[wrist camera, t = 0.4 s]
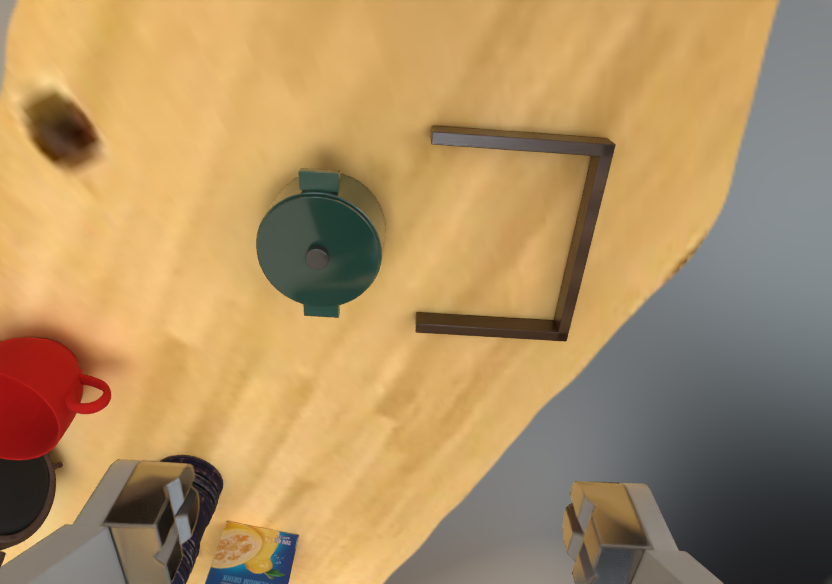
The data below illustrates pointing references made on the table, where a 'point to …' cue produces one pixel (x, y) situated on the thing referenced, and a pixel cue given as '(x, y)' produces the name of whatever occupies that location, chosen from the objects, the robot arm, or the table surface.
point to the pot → (322, 240)
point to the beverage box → (252, 556)
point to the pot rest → (580, 245)
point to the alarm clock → (24, 498)
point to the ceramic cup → (40, 395)
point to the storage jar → (209, 492)
